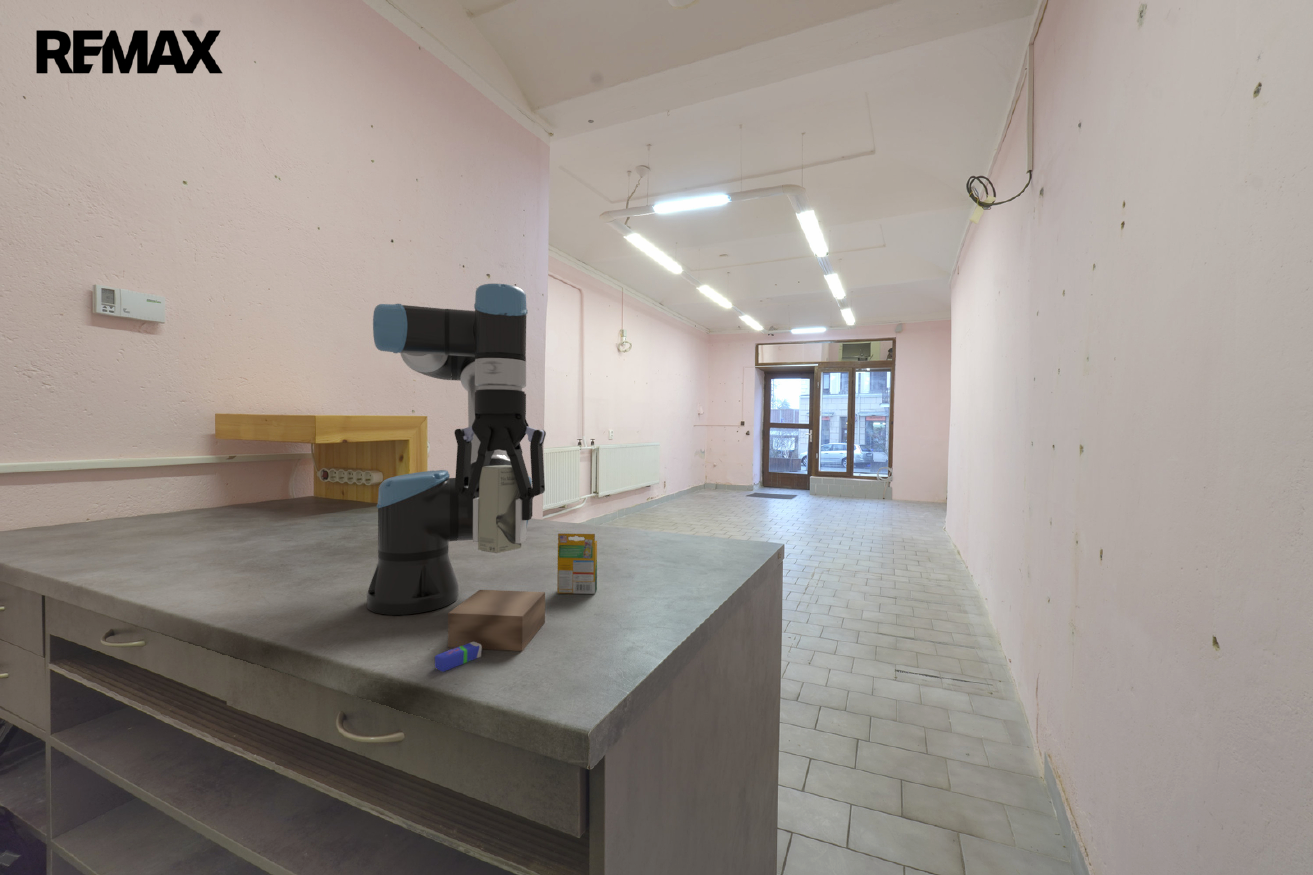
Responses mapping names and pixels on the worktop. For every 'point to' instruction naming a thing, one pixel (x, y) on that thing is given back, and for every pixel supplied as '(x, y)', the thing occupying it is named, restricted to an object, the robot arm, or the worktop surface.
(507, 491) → the box
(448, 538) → the robot arm
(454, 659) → the eraser
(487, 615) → the block
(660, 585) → the worktop surface
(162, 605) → the worktop surface
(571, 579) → the crayon box
